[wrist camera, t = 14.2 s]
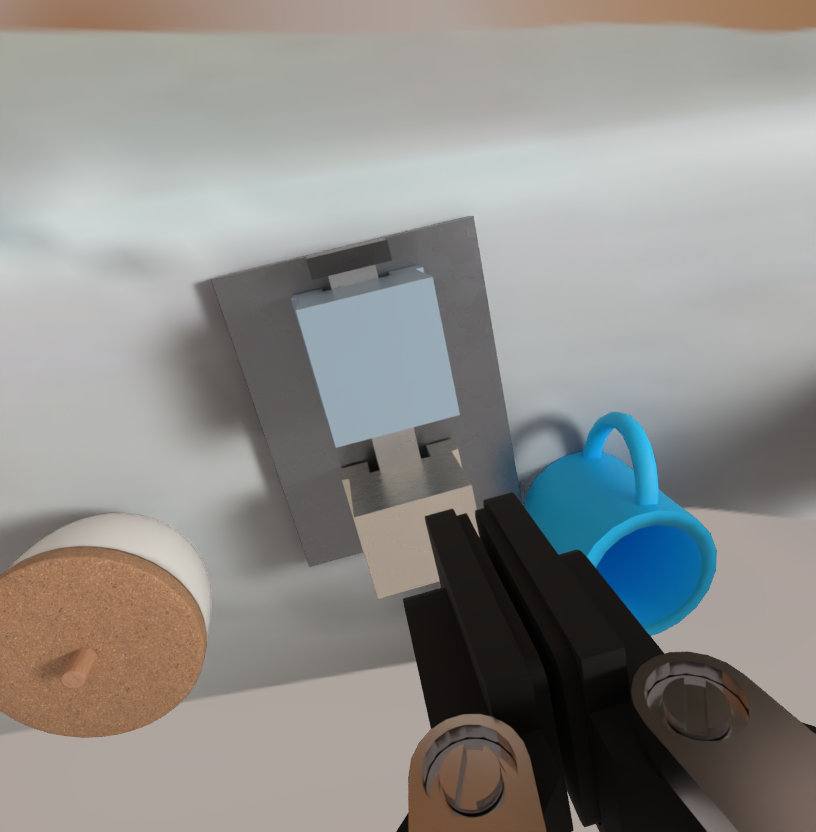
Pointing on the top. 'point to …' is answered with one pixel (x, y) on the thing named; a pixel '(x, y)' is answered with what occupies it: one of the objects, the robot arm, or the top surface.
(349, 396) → the block
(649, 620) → the mug
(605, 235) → the top surface
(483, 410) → the rail plate
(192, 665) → the lidded jar
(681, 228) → the top surface
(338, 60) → the top surface
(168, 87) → the top surface
